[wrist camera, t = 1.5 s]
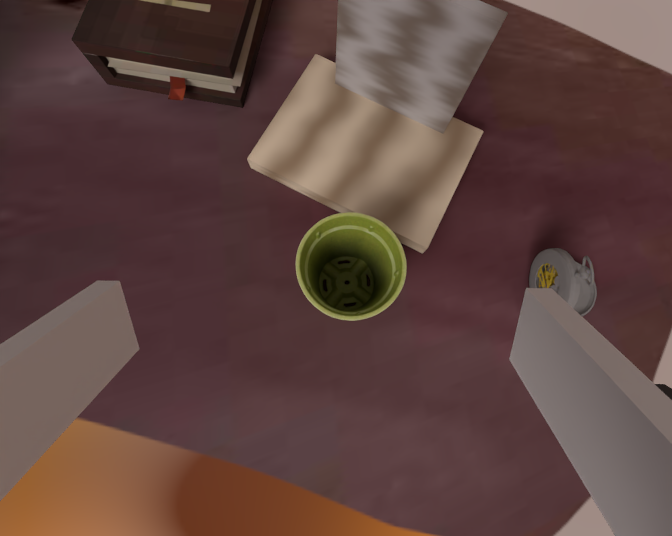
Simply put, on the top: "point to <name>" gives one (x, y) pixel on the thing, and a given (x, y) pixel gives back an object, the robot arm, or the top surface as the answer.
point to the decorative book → (175, 45)
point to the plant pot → (351, 265)
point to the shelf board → (384, 113)
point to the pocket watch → (565, 278)
